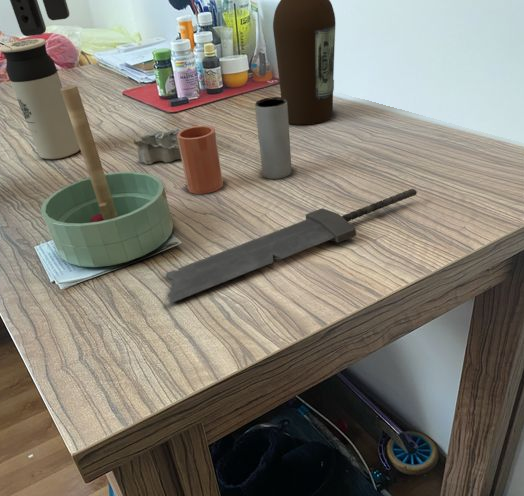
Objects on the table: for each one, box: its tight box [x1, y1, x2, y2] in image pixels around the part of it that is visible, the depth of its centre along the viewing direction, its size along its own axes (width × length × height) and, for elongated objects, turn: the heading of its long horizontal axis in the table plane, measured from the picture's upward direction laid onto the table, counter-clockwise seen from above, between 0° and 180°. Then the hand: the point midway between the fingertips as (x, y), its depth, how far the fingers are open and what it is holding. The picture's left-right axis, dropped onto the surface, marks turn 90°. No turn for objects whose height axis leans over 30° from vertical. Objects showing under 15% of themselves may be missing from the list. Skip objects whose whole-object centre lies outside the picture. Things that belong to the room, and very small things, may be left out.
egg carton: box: [133, 125, 199, 165], centre depth 88 cm, size 11×8×4 cm
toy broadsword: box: [165, 188, 418, 304], centre depth 61 cm, size 7×35×2 cm, turn 117°
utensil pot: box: [177, 125, 224, 195], centre depth 75 cm, size 5×5×8 cm
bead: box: [90, 214, 104, 223], centre depth 67 cm, size 3×3×3 cm
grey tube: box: [254, 96, 293, 180], centre depth 75 cm, size 4×4×10 cm
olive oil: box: [272, 0, 337, 126], centre depth 89 cm, size 11×11×25 cm
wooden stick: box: [60, 84, 118, 220], centre depth 61 cm, size 2×3×18 cm, turn 1°
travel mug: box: [0, 38, 81, 160], centre depth 91 cm, size 8×8×18 cm
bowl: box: [40, 171, 174, 268], centre depth 66 cm, size 15×15×6 cm
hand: (48, 26), depth 52 cm, fingers open, 8 cm apart
